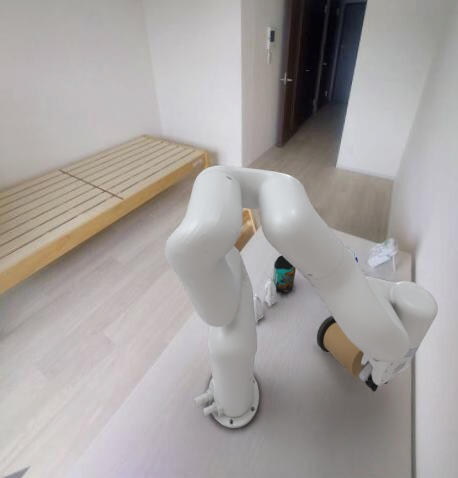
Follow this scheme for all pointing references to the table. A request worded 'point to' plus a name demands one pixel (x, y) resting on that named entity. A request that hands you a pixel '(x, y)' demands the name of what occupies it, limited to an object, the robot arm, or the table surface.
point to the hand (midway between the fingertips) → (374, 380)
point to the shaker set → (269, 298)
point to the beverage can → (283, 275)
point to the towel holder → (340, 346)
